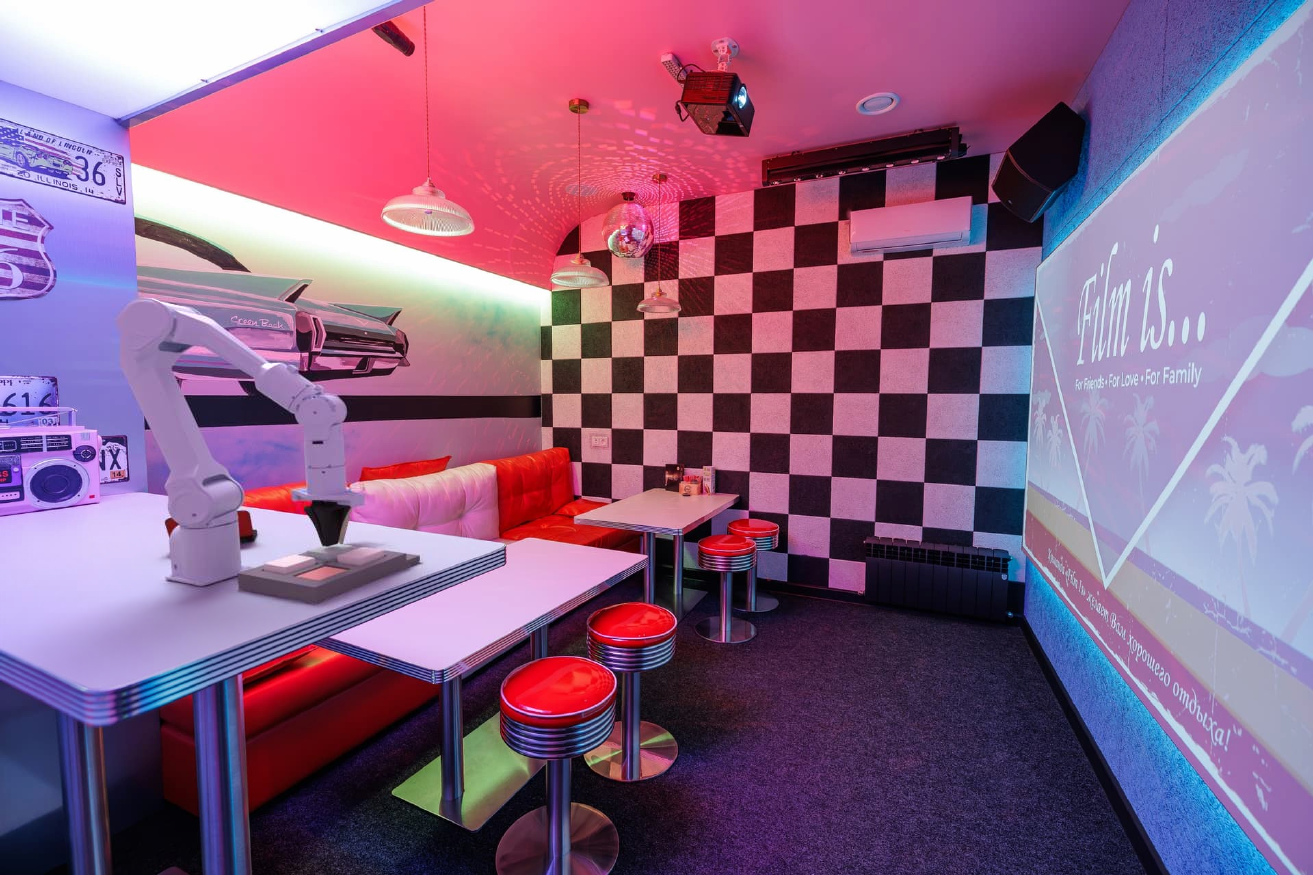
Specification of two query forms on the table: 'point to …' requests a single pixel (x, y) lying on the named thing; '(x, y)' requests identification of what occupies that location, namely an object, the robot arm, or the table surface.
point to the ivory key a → (289, 564)
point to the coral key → (321, 573)
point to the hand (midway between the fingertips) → (330, 544)
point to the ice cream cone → (344, 527)
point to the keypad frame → (328, 586)
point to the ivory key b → (360, 556)
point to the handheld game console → (243, 522)
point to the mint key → (329, 551)
